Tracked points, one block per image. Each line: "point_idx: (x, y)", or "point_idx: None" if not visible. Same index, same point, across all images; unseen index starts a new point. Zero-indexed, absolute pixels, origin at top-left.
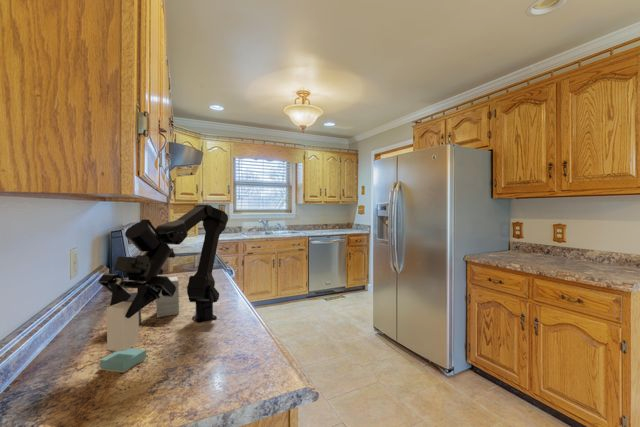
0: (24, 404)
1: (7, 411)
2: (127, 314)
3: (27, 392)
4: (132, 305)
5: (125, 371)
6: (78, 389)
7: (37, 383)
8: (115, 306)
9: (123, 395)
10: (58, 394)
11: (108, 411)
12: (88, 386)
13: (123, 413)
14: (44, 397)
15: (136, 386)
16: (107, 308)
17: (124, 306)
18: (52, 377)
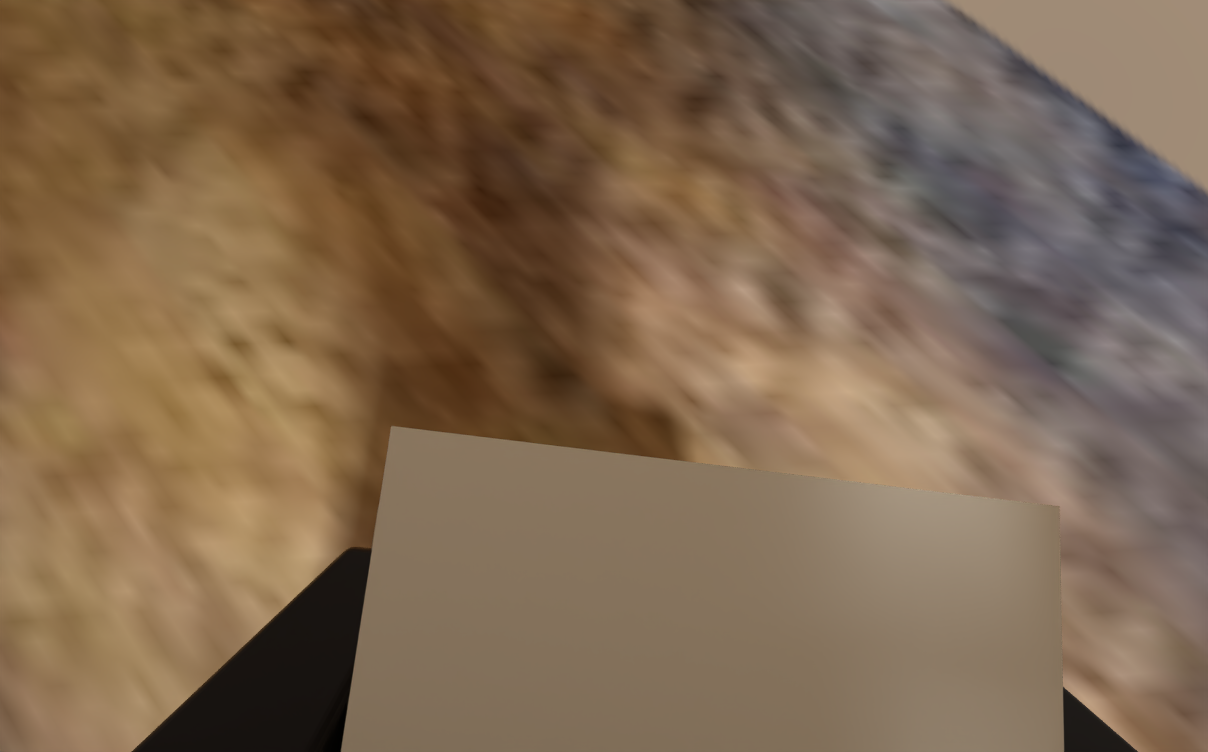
0: (949, 110)
1: (981, 36)
2: (332, 564)
3: (1104, 253)
4: (216, 742)
5: (375, 526)
6: (702, 314)
7: (1172, 381)
8: (842, 626)
9: (187, 248)
10: (811, 238)
11: (170, 46)
12: (650, 364)
13: (17, 26)
14: (888, 196)
15: (148, 391)
16: (1007, 506)
17: (509, 659)
18: (1146, 485)
